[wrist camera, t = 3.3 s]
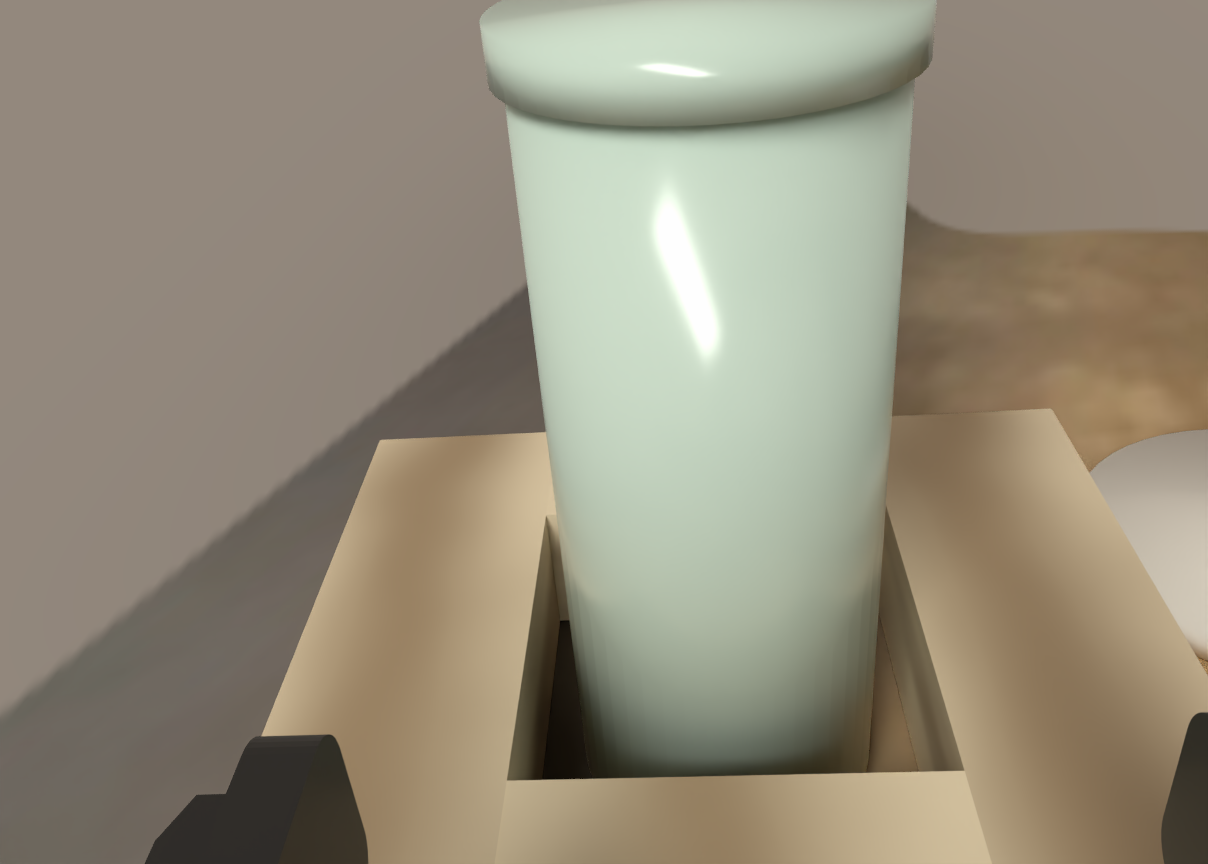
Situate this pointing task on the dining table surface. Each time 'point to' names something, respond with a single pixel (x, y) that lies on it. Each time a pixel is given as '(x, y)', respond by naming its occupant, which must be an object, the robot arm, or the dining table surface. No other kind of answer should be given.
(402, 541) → the wooden square frame
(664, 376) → the mint green tumbler
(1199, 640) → the saucer
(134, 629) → the dining table surface
